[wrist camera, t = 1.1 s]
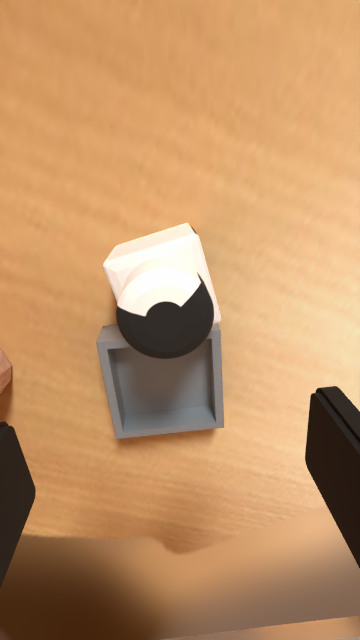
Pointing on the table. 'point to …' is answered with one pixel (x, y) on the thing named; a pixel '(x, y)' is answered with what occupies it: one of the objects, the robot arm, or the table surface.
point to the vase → (4, 371)
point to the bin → (161, 387)
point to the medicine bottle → (163, 292)
